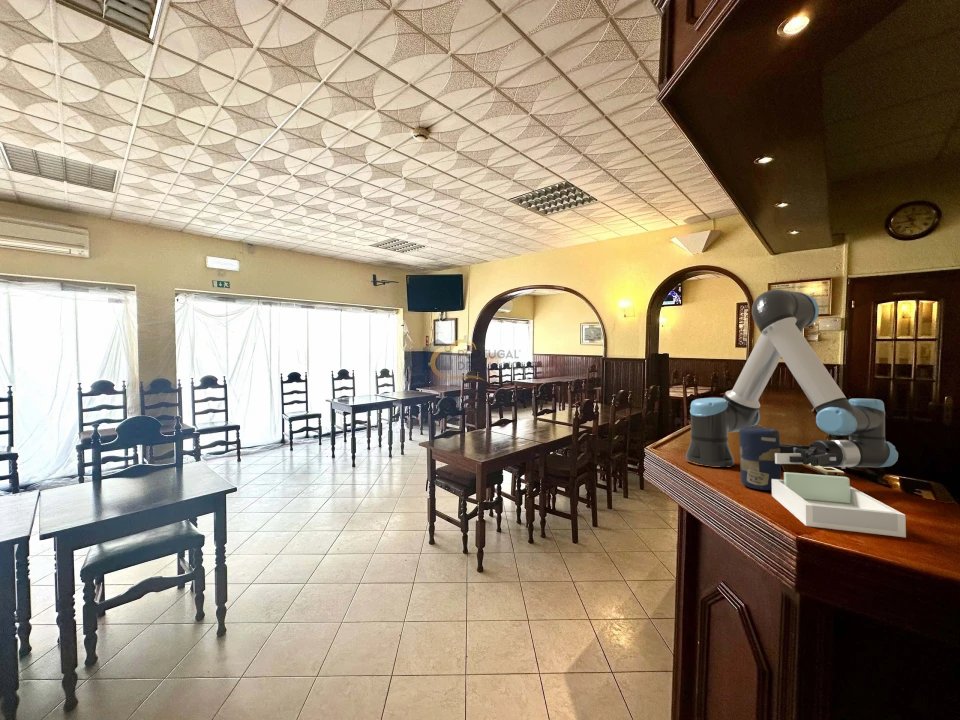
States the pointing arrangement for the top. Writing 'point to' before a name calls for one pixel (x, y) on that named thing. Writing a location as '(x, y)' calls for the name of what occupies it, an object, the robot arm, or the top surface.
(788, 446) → the robot arm
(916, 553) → the top surface
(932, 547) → the top surface
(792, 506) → the white tray
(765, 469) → the dark blue canister
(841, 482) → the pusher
